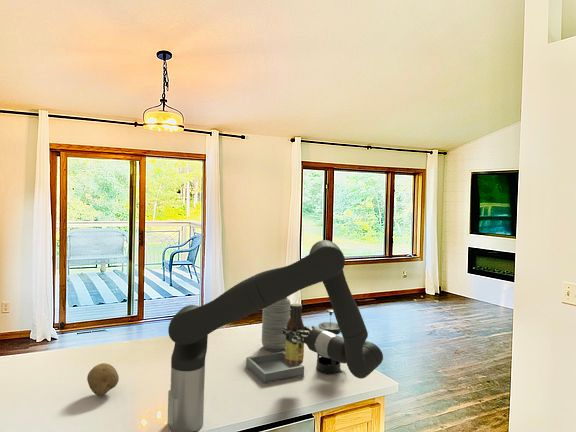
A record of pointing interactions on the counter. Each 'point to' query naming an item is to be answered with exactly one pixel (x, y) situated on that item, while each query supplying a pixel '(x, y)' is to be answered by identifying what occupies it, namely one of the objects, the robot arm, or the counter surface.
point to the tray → (273, 367)
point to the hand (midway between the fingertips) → (291, 328)
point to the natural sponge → (102, 379)
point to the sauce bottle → (292, 351)
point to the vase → (275, 325)
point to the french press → (325, 363)
